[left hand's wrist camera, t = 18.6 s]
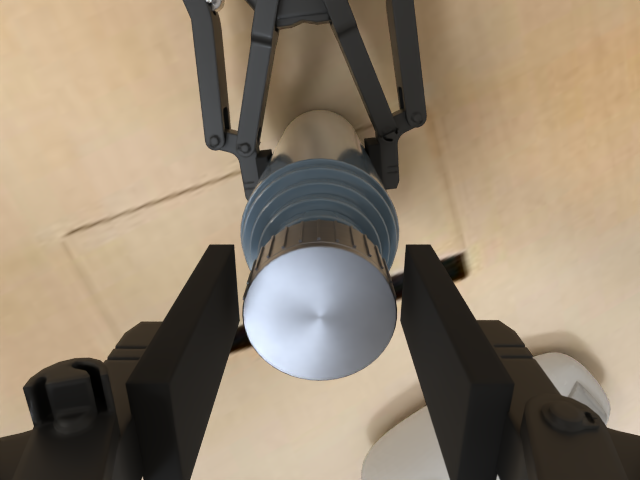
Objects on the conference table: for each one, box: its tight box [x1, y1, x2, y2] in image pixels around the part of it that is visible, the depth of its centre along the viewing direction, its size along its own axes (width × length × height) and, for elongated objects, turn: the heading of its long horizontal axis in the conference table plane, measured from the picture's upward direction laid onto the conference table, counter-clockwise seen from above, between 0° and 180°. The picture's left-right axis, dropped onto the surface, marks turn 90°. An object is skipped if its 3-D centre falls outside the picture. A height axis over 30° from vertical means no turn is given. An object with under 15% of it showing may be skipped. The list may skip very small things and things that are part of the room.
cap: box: [243, 219, 397, 381], centre depth 14 cm, size 4×4×2 cm
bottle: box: [241, 110, 399, 271], centre depth 25 cm, size 6×6×25 cm
